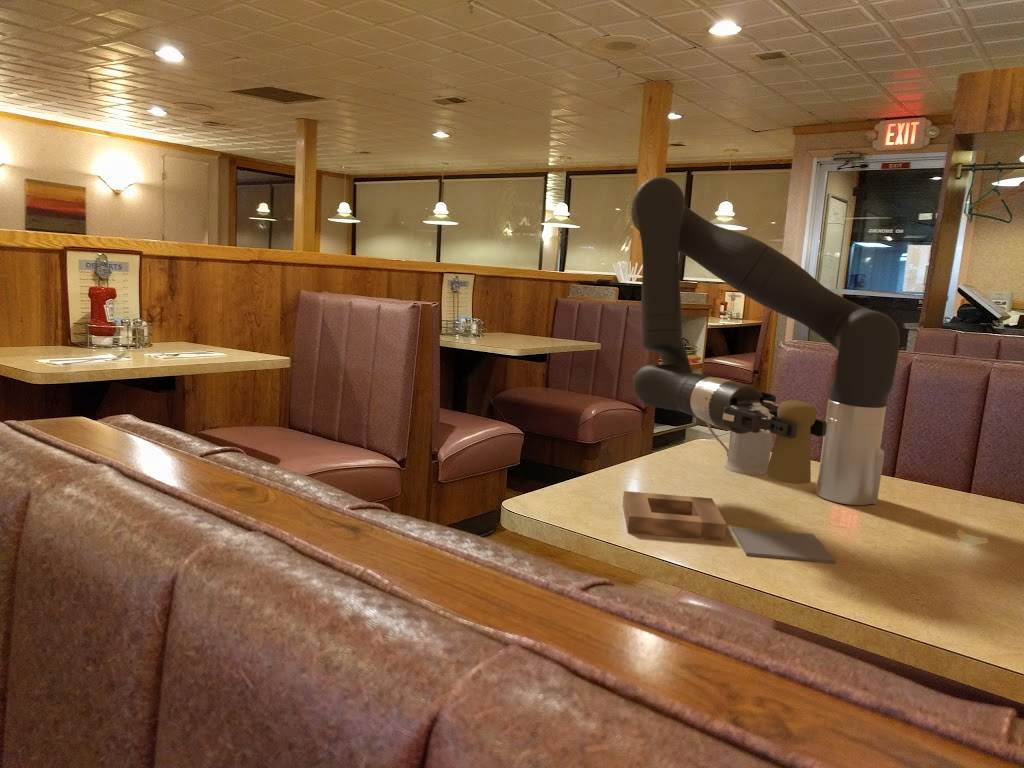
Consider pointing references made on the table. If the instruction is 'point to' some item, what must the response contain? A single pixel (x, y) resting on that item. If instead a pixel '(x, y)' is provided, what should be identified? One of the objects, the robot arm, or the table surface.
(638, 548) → the table surface
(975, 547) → the table surface
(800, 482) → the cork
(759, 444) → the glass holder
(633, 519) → the socket block
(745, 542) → the rubber mat
